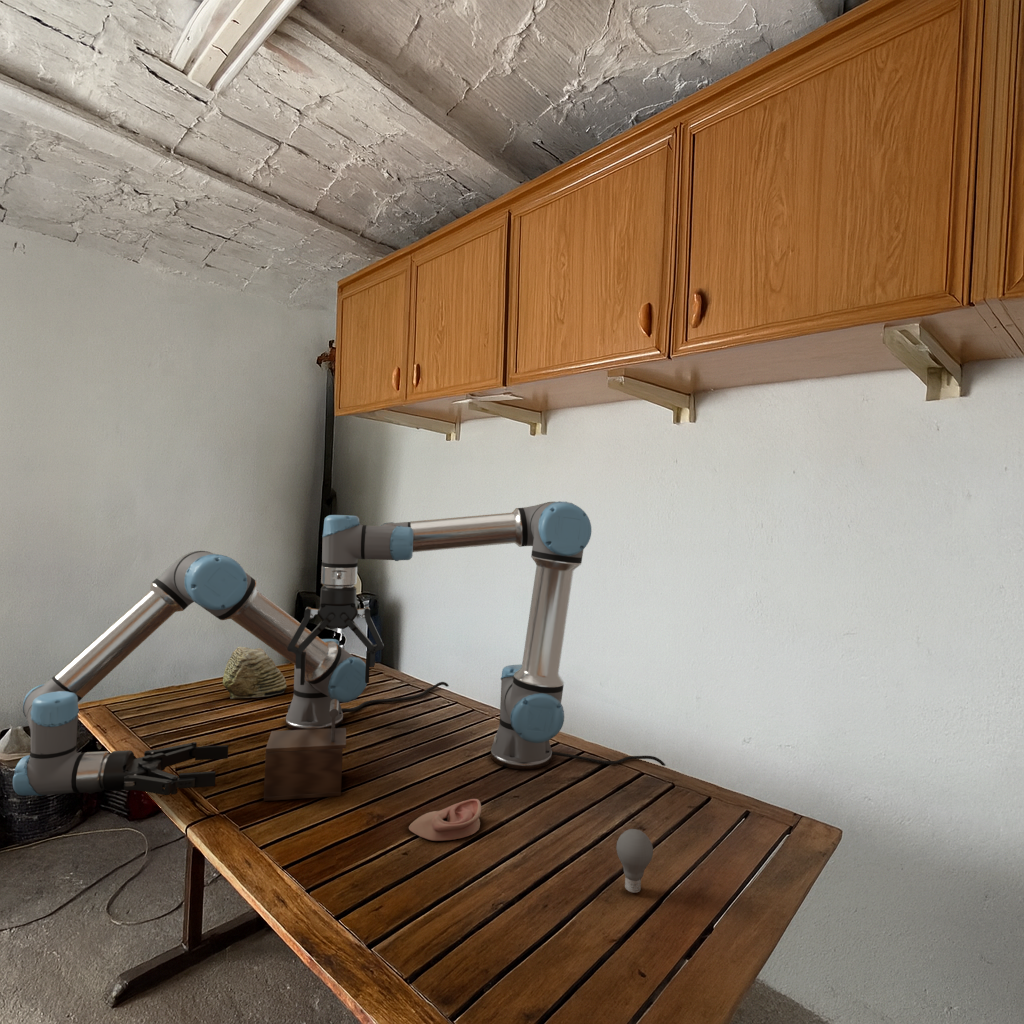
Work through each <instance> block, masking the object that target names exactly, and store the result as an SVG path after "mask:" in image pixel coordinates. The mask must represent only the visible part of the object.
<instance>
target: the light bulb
mask: <svg viewBox="0 0 1024 1024" xmlns="http://www.w3.org/2000/svg"><path fill="white" fill-rule="evenodd" d="M615 849H616V854H617V857H618V859H619V861H620V863H621V865H622V867H623V873H624V874H623V875H624V876H625V878H624V888H625V890H627V891H628V892H630V893H634V894H635V893H639V892H640V891H641V889H642V887H641V886H642V879H643V877H644V875H645V871H646V868H647V867H648V866H649V864H650V863H651V861H652V859H653V855H654V847H653V843H652V841H651V838H649V836H648V835H647V834H646V833H645V832H643V831H642V830H641V829H636V828H629V829H627V830H625V831H623V832H622V833H621V834H620V835H619V837H618V839H617V841H616V847H615Z"/></svg>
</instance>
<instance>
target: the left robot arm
mask: <svg viewBox="0 0 1024 1024" xmlns="http://www.w3.org/2000/svg"><path fill="white" fill-rule="evenodd" d="M193 603H195V604H197V605H198V606H200V607H201V608H202V609H204V610H205V611H207V612H208V613H209V614H211V615H213V617H215V618H217V619H218V620H219V621H227V620H231V621H233V622H234V623H236V624H237V625H239V626H240V627H241V628H243V629H244V630H245V631H247V632H248V633H250V634H251V635H252V636H254V637H255V638H256V639H258V640H260V641H261V642H262V643H264V644H265V645H266V646H268V647H269V648H271V649H272V650H273V651H275V652H276V653H278V654H279V655H280V656H282V657H283V658H285V659H286V660H287V661H289V662H290V663H291V664H293V665H294V672H293V695H292V696H293V697H292V699H291V702H290V704H288V705H287V713H286V715H285V726H286V728H287V729H288V730H309V729H331V728H332V717H331V716H330V715H329V710H330V702H331V700H333V699H337V700H338V701H339V712H338V715H337V716H336V719H335V728H338V727H339V726H340V725H342V723H343V722H344V714H343V713H352V712H353V713H354V712H356V711H359V710H360V709H362V708H364V707H365V706H367V705H371V704H380V703H381V704H383V703H397V702H405V701H411V700H415V699H419V698H421V697H423V696H425V695H426V694H428V693H429V692H431V691H433V690H435V689H436V688H438V687H440V686H445V687H446V688H447V687H450V685H449V684H448V683H447V682H445V681H440V682H437V683H436V684H434V685H432V686H433V687H432V686H430V687H428V688H427V689H425V690H424V691H423V692H421V693H418V694H414V695H410V696H404V697H395V698H378V699H370V700H366V701H364V702H362V703H360V704H359V705H357V706H355V707H351V708H350V707H349V708H347V707H346V708H344V707H343V708H342V706H341V703H342V704H344V703H350V702H352V701H354V700H356V699H358V698H359V697H360V696H361V695H362V694H363V693H364V691H365V690H366V688H367V686H368V683H365V671H366V662H365V661H364V660H363V659H361V658H360V657H357V656H354V655H353V654H351V653H350V652H348V651H347V650H346V649H345V648H343V647H342V646H341V645H340V641H339V640H338V639H336V638H320V637H319V636H317V637H316V638H315V639H314V640H313V641H312V642H311V643H310V644H309V645H308V646H307V647H306V649H305V650H304V651H303V652H306V663H305V683H304V685H300V679H301V669H296V667H295V666H296V654H295V653H294V652H289V651H288V650H287V648H288V645H289V643H290V642H291V640H292V638H293V636H294V634H295V633H296V631H297V629H298V627H299V626H300V624H301V622H299V621H298V620H297V619H296V618H294V616H291V615H290V614H289V613H288V612H287V611H285V610H284V609H282V608H281V607H280V606H278V604H276V603H274V602H273V601H272V600H271V599H270V598H268V597H267V596H265V595H264V594H263V593H262V592H260V591H259V590H258V589H257V581H256V579H255V578H253V577H252V576H251V575H250V574H248V573H247V572H246V571H245V569H244V568H243V567H242V566H241V564H240V563H239V562H238V561H237V560H235V559H234V558H231V557H229V556H227V555H224V554H218V553H213V552H210V551H207V550H206V551H205V550H193V551H190V552H188V553H185V554H184V555H182V556H181V557H179V558H178V559H176V560H175V561H174V562H173V563H172V564H170V565H169V566H168V567H167V568H166V569H165V570H164V571H163V572H162V573H161V574H160V575H158V576H157V578H155V579H153V581H151V582H150V588H149V590H148V591H147V592H146V593H145V594H143V596H142V597H140V598H139V599H138V600H137V601H136V602H135V603H134V604H132V605H131V606H130V607H129V608H128V609H127V610H126V611H125V612H124V613H122V614H121V615H120V616H119V617H118V618H117V619H116V620H115V621H114V622H113V623H111V624H110V625H109V626H108V627H107V628H106V629H104V631H102V632H101V633H100V634H98V636H97V637H95V638H94V640H93V641H91V642H90V643H89V644H88V645H87V646H86V647H84V648H83V649H82V650H81V651H80V652H79V653H78V654H77V655H75V656H74V658H72V659H71V660H70V661H69V662H67V664H66V665H64V666H63V667H62V668H60V670H59V671H58V672H56V673H55V674H54V675H53V676H52V677H50V679H48V680H47V681H46V682H44V683H43V684H39V685H37V686H34V687H33V688H32V689H30V690H29V691H28V692H27V693H26V695H25V696H24V698H23V702H22V703H23V704H22V713H23V715H24V717H25V718H26V720H27V724H28V727H29V731H30V751H29V754H28V755H24V756H23V757H21V759H20V760H19V761H18V762H17V764H16V766H15V768H14V773H13V776H12V788H13V791H14V793H16V795H18V796H37V797H43V796H44V797H45V796H51V795H52V796H53V795H65V794H66V795H67V794H79V793H88V794H89V795H93V794H94V793H95V792H103V791H104V790H105V791H107V792H114V791H115V792H116V791H137V792H138V791H139V792H145V793H150V794H156V795H163V796H170V795H177V794H178V789H179V790H180V789H194V788H195V789H197V788H210V787H215V786H216V773H217V772H216V770H214V771H198V772H181V773H179V774H178V775H175V774H173V773H169V772H166V771H165V769H166V768H168V767H171V766H174V765H177V764H180V763H185V762H187V761H190V760H193V759H194V760H195V761H210V760H228V758H229V745H228V744H223V745H206V746H205V745H203V746H198V745H197V744H198V742H196V741H194V742H193V741H192V742H189V743H184V744H178V745H173V746H168V747H164V748H158V749H151V750H150V749H149V750H145V751H144V753H143V756H141V757H136V756H135V753H134V751H133V750H131V749H129V750H128V749H127V750H113V751H112V752H110V751H109V750H104V751H103V750H101V751H87V752H78V751H77V748H78V747H77V746H78V744H77V742H78V741H77V740H78V739H77V738H78V722H79V721H78V719H79V718H78V717H79V713H80V708H79V702H80V701H82V700H83V698H85V696H87V695H88V693H89V692H90V691H92V690H93V689H94V688H95V687H96V686H97V685H98V684H99V683H101V682H102V681H103V680H104V679H105V678H106V676H108V675H110V673H111V672H112V671H113V670H114V669H116V667H118V666H119V665H120V664H121V663H122V662H123V661H124V660H125V659H126V658H128V656H130V655H131V654H132V653H133V652H134V651H135V650H136V649H137V648H138V647H139V646H140V645H142V644H143V643H144V642H145V641H146V640H147V639H148V638H149V637H150V636H151V635H152V634H154V632H156V630H158V629H159V628H160V627H161V626H162V625H163V624H164V623H165V622H166V621H168V619H170V618H171V617H172V616H173V615H174V614H176V613H177V612H184V611H185V610H186V609H187V608H188V607H189V606H190V605H192V604H193ZM311 632H312V631H311V630H310V629H308V628H307V626H306V627H305V629H304V631H303V633H302V634H301V636H300V638H299V640H298V642H297V643H296V646H299V645H300V644H301V643H302V642H303V641H304V640H305V639H306V638H307V636H308V635H309V634H310V633H311Z"/></svg>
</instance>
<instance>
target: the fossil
mask: <svg viewBox="0 0 1024 1024" xmlns="http://www.w3.org/2000/svg"><path fill="white" fill-rule="evenodd" d="M222 676H223V677H222V685H223V687H224V688H225V690H226V691H228V693H229V698H230V699H250V698H264V697H271V696H275V695H281V694H284V693H285V691H286V689H287V687H288V686H287V680H286V678H285V676H284V674H283V673H282V672H281V669H279V668H278V667H277V665H276V663H275V662H274V660H273V659H272V658H271V657H270V656H269V655H268V654H267V653H266V652H265V650H264V649H263V648H260V647H258V648H251V647H247V646H246V647H245V646H238V647H237V648H236V649H235V650H233V651H232V653H231V656H230V657H229V659H228V660H227V663H226V666H225V668H224V671H223V675H222Z"/></svg>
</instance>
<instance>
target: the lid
mask: <svg viewBox="0 0 1024 1024" xmlns="http://www.w3.org/2000/svg"><path fill="white" fill-rule="evenodd" d="M338 712H339V701H338V700H337V699H333V700H331V702H330V710H329V715H330V716H331V717H332V728H331V729H309V730H292V729H287V730H271V732H270V735H269V737H268V741H267V744H266V747H265V753H266V752H285V751H304V750H323V749H342V748H343V749H347V728H346V727H335V719H336V716H337V715H338Z"/></svg>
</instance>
